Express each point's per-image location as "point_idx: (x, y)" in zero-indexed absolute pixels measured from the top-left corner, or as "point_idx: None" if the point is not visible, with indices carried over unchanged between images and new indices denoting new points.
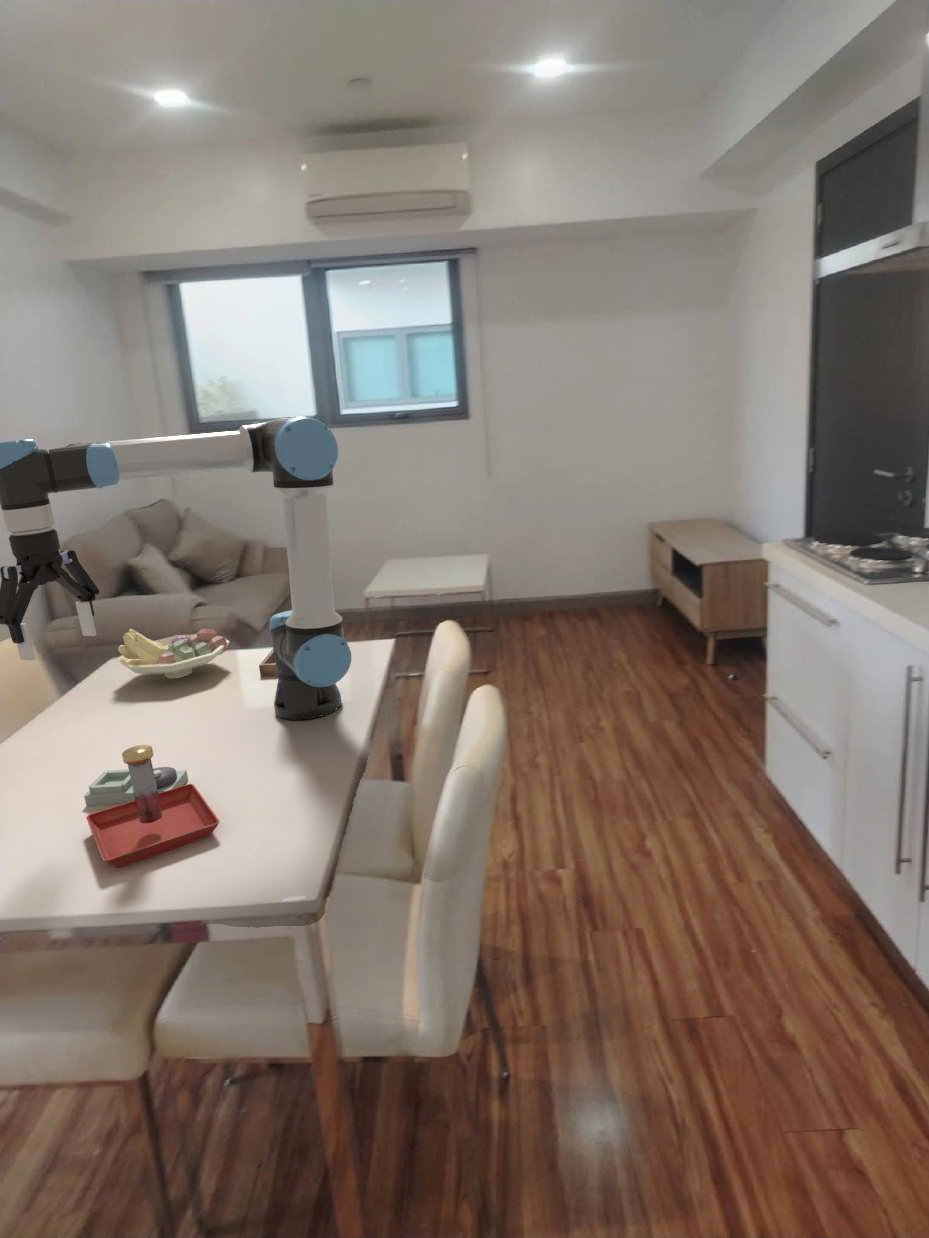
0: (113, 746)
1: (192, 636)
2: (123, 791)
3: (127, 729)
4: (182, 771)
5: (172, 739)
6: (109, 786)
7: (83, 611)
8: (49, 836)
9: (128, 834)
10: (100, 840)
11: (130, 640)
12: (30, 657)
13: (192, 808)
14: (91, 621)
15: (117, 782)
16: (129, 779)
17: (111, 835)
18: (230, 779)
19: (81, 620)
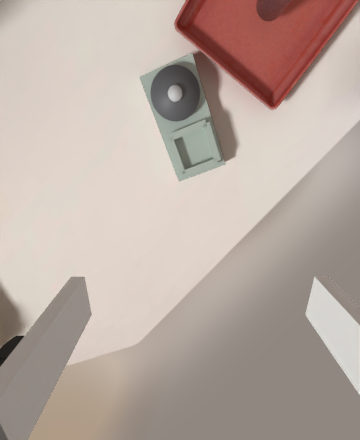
0: (106, 245)
1: None
2: (207, 121)
3: (68, 263)
4: (143, 80)
5: (66, 190)
6: (213, 136)
7: (38, 375)
8: (285, 148)
9: (277, 42)
10: (306, 55)
11: None
12: (334, 284)
13: (205, 1)
14: (52, 313)
15: (190, 149)
16: (192, 125)
17: (282, 64)
18: (122, 11)
19: (65, 352)
